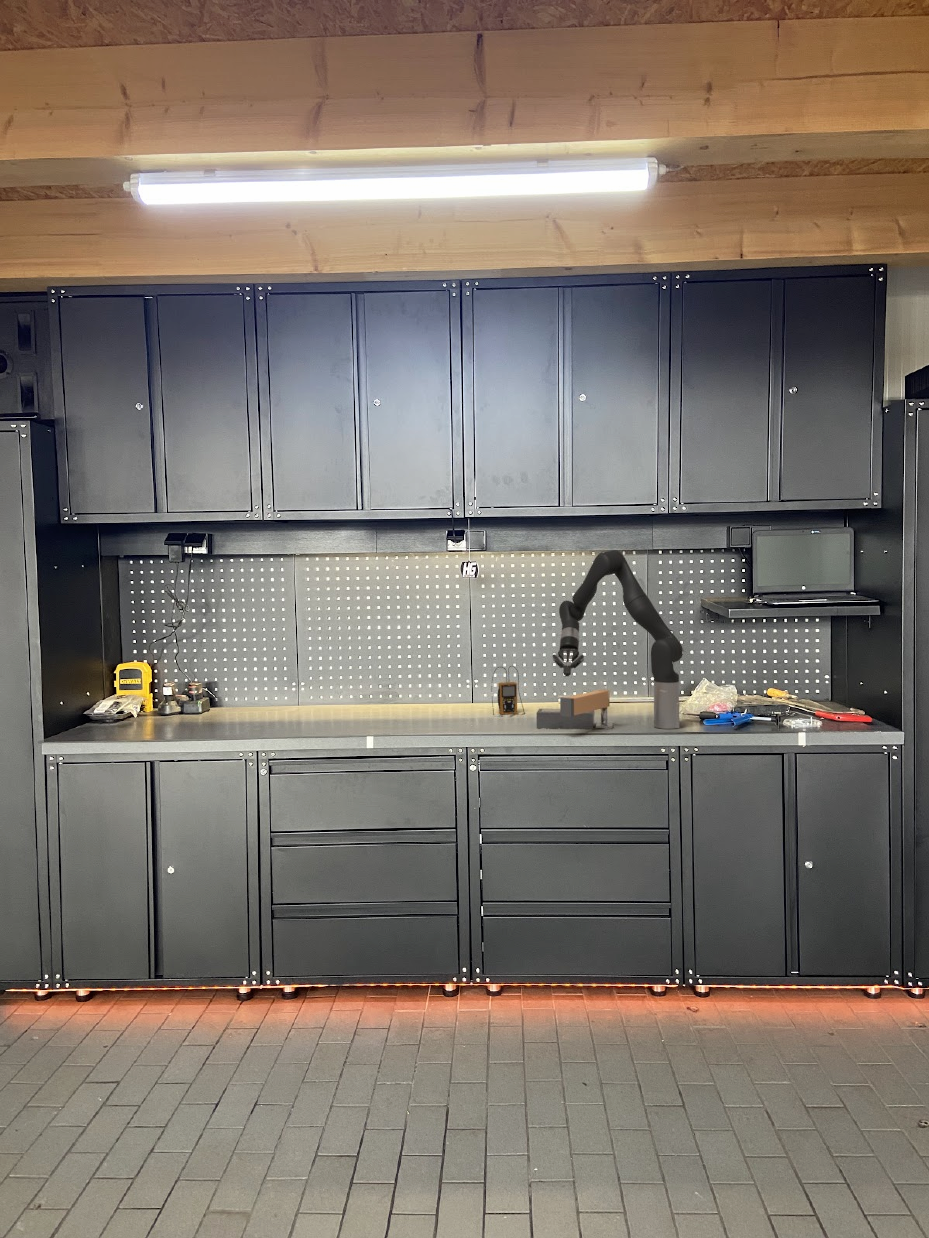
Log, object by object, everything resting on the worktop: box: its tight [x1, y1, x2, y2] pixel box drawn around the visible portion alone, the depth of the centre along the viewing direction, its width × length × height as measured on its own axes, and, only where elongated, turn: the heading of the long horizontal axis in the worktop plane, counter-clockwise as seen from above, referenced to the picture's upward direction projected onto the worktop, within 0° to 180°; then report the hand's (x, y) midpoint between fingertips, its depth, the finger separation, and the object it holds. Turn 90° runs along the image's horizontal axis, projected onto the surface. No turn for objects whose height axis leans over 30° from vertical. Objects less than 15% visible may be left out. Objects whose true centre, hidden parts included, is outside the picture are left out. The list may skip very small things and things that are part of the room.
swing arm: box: [559, 689, 611, 717], centre depth 336 cm, size 29×4×6 cm, turn 141°
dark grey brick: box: [536, 708, 595, 730], centre depth 349 cm, size 21×10×6 cm, turn 79°
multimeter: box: [490, 665, 526, 717], centre depth 377 cm, size 15×10×20 cm
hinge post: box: [595, 707, 614, 730], centre depth 346 cm, size 6×6×8 cm
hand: (566, 675), depth 360 cm, fingers closed
